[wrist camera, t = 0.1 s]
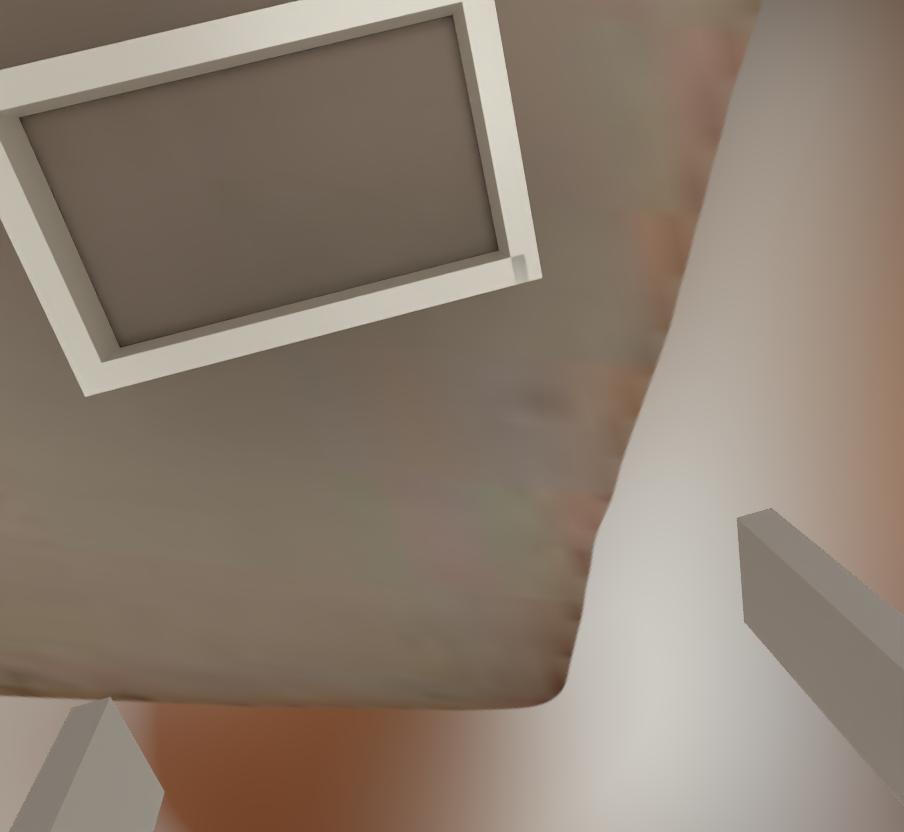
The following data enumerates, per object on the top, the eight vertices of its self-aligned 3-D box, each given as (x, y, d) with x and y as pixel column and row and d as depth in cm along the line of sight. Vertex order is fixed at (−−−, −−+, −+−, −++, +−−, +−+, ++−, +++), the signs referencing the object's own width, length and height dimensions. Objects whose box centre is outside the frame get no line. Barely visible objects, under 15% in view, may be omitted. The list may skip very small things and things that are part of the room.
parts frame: (-28, 91, 32) (-64, 84, 29) (475, -26, 33) (486, -44, 30) (104, 379, 37) (85, 396, 35) (528, 269, 39) (542, 277, 36)
